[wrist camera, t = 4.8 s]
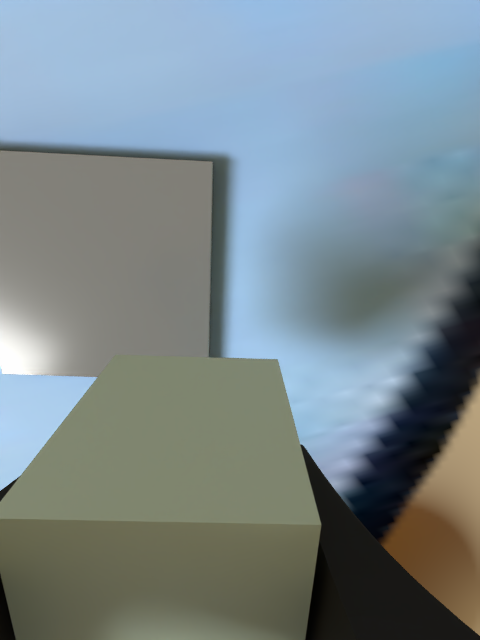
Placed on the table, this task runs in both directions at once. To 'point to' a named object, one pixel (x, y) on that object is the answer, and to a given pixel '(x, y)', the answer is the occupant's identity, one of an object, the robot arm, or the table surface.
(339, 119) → the table surface
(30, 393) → the table surface
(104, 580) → the block
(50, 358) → the coaster
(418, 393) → the table surface
